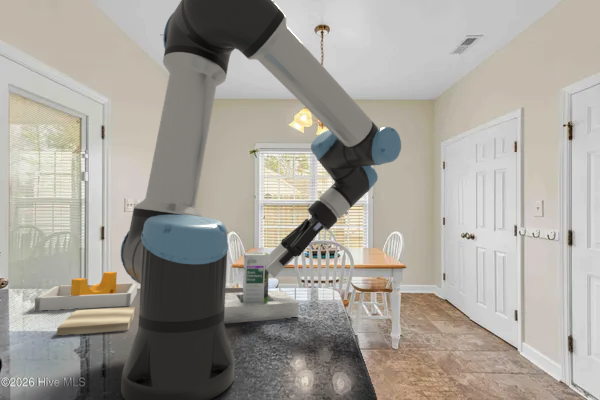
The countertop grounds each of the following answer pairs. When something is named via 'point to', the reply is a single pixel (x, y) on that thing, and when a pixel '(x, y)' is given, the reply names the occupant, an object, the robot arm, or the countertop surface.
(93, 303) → the parts tray frame
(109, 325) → the maple pad
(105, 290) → the pipe clamp
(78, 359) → the countertop surface
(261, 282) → the syrup box
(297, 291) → the countertop surface
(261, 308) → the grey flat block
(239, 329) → the countertop surface
